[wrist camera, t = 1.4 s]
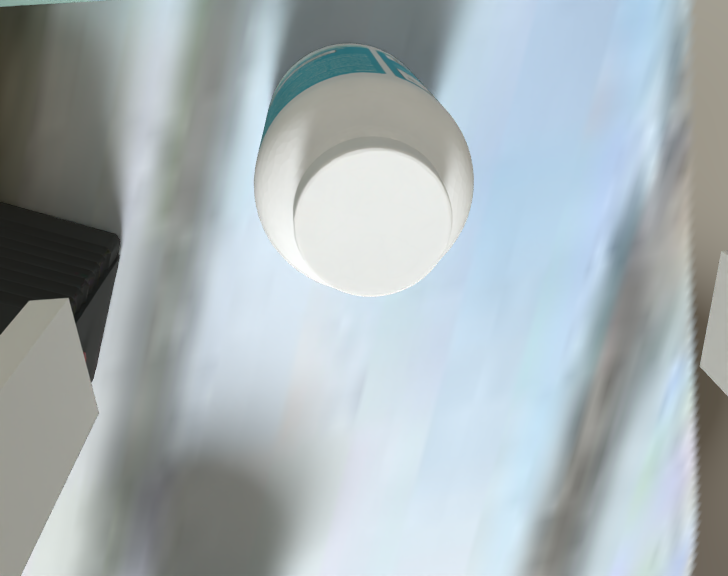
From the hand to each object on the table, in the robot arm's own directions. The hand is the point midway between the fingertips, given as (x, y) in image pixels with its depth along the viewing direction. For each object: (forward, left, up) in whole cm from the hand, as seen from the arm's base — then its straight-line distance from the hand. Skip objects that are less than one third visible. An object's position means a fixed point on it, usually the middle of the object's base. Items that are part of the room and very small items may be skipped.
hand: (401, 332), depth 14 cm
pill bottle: (0, 0, -20) cm, 20 cm away
